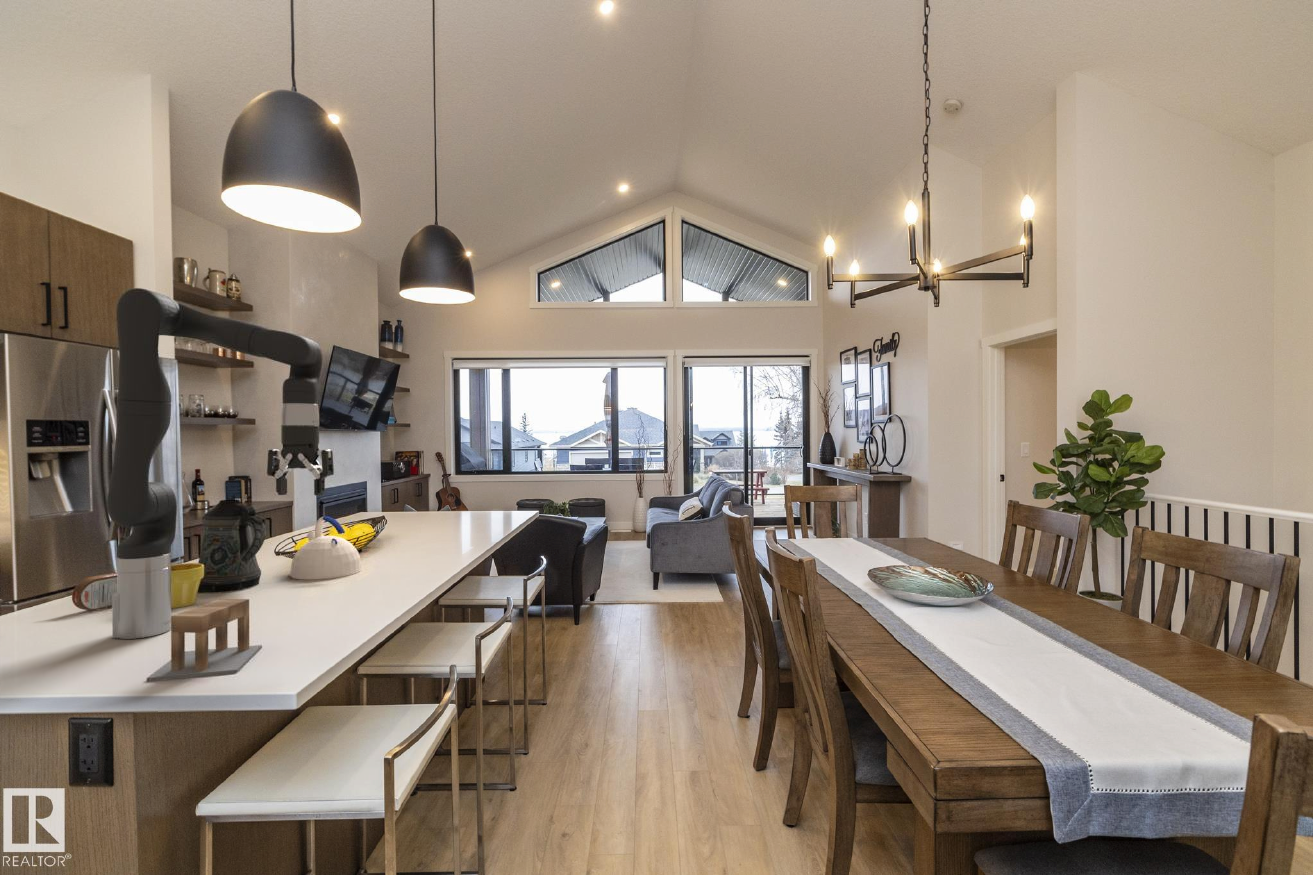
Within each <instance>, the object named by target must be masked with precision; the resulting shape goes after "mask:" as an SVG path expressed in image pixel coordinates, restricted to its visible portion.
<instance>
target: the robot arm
mask: <svg viewBox="0 0 1313 875" xmlns="http://www.w3.org/2000/svg"><path fill="white" fill-rule="evenodd" d="M115 313H116V326H117V328H116V329H117V339H118V351H119V352H118V354H119V355H118V360H119V361H118V382H117V383H118V384H117V385H118V387H117V388H118V389H117V397H116V399H117V400H116V415H115V416H116V420H115V421H116V430H115V442H114V453H113V454H114V455H113V463H112V469H111V475H110V479H109V480H110V481H109V485H108V492H107V497H106V499H107V500H106V508H107V510H106V511H107V513H108V515H109V518H110V520H111V521H112V522H113V523H114V524H116V525H118V526H119V527H123V528H131V527H133V528H132V530H131V533H130V534H129V536H127V538H126V539H124V540H123V541H121V542H120V543H119V544H118V545H117V547H116V571H117V572H116V573H117V592H116V593H114V594H113V595H112V607H111V611H112V615H111V616H112V617H111V618H112V620H111V622H112V623H111V624H112V629H111V630H112V631H111V632H112V637H111V638H112V639H121V640H122V639H123V640H125V639H126V640H130V639H133V640H134V639H141V638H148V637H153V636H157V635H160V634H161V635H162V634H164V633H166V632H168V631H171V616H172V608H171V565H172V559H171V558H172V545H173V543H174V540H175V539H176V533H177V532H176V531H177V515H178V511H177V510H178V509H177V508H178V502H177V497H176V493H175V492H174V490H173V488H171V486H169V485H168V484H167V483H164V482H160V481H150V480H149V479H150V469H151V468H150V467H151V463H152V459H153V457H154V455H155V453H156V451H157V449H158V448H159V446H160V444H161V443H162V441H163V440H164V438H165V436H166V434H167V432H168V430H169V428H170V425H171V419H172V392H171V387H170V385H169V381H168V379H167V377H166V374H165V372H164V370H163V367H162V365H161V360H160V356H159V341H160V340H159V339H160V336H169V337H177V338H188V339H194V340H198V341H203V342H206V343H210V344H213V345H216V346H218V347H222V348H224V349H226V350H227V349H228V350H231V351H233V352H238V353H240V354H245V355H249V356H254V357H258V358H264V359H265V358H266V359H268V360H271V361H275V362H279V363H282V364H285V365H288V366H290V367H289V375H288V378H286V379H284V381H283V383H282V407H281V413H280V415H281V416H280V418H281V419H280V422H281V423H280V424H281V425H280V427H281V428H280V430H281V431H280V433H281V434H280V436H281V439H280V442H281V446H282V449H281V450H280V449H269V450H268V451H267V467H266V475H267V476H269V477H270V476H271V477H274V478H275V487H276V488H275V491H276V493H277V495H278V496H286V495H287V494H288V478H287V477H288V475H289V474H290V473H291V471H293V470H294V469H300V470H301V469H302V470H304V469H307V470H308V472H311V474H312V475H313V476H314V478H315V479H313V482H314V483H313V490H314V492H313V494H314V496H322V495H323V494H324V493H325V491H326V486H325V485H326V484H325V483H326V482H325V481H326V478H327V477H330V476H333V475H334V473H335V469H334V457H333V456H334V455H333V454H334V453H333V450H332V449H322V450H320V448H319V444H320V410H319V405H318V404H319V403H318V402H319V395H318V394H319V390H318V386H319V382H320V377H321V372H322V368H323V352H322V349H321V347H320V345H319V344H318V343H317V342H316V341H314V340H312V339H310V338H307V337H305V336H302V335H299V334H295V333H292V332H286V331H281V330H277V329H272V328H270V327H266V326H263V325H261V324H260V325H259V324H255V323H253V322H248V321H245V320H239V319H235V318H229V317H223V316H218V315H213V314H209V313H205V312H203V311H199V310H198V309H196V308H192V307H189V306H187V305H185V304H183V303H180V302H178V301H177V300H174V299H172V298H170V297H169V296H167V295H165V294H162V293H159V292H155V291H152V290H149V289H147V288H141V287H136V288H130V289H128V290H127V291H125V292H124V293H123V294H122V295H121V296H120V297H119V299H118V302H117V305H116V312H115ZM318 458H319V459H321V464H320V462H319V461H318ZM281 459H283V461H282V462H280V461H281ZM280 463H281V464H280Z"/></svg>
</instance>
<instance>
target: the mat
mask: <svg viewBox="0 0 1313 875" xmlns="http://www.w3.org/2000/svg"><path fill="white" fill-rule="evenodd" d="M262 648H263V645H262V644H256V645H249V649H248V650H245V651H238V646H234V647H228V648H227V649H225V650H222V651H219V650H216V648H211V649H209V648H208V669H206V670H204V671H195V650H189V651H188V650H187V651H185V668H183V669H181V670H179V671H176V670H171V659H170V660H169V661H167V662H166V663H165V664H163V665H162V666H161V667H160V668H158V669H156V671H154V672H153V673H152V674H150V675H149V676H147V677H146V682H153V681H154V682H155V681H165V680H176V679H185V678H187V679H188V678H196V677H206V676H218V675H227V674H229V675H230V674H238V673H239V672H240V671H241V670H242V669H243V668H244V667H245V665H247V664H246V663H249V662H250V661H249V660H252V658H254V657H255V656H256V654H258V653H259V652H260V650H261V649H262Z"/></svg>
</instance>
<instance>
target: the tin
mask: <svg viewBox="0 0 1313 875" xmlns="http://www.w3.org/2000/svg"><path fill="white" fill-rule="evenodd" d="M116 592H117V572H111V573H106V574H100V575H94V576H90V577H87V578H84V579H83V580H81V581H80V582H79V583H78V584H77V585H76V586H75V587H74V589H73V591H72V594H71V601H72V603H73V605H74V606H75V607H76V608H78V609H80V610H85V611H89V612H90V611H92V612H93V611H100V610H103V609H108V608H110V609H111V608H112V595H113V594H114V593H116Z"/></svg>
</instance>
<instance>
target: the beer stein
mask: <svg viewBox="0 0 1313 875" xmlns="http://www.w3.org/2000/svg"><path fill="white" fill-rule="evenodd" d="M256 514H257V512H256V510H255V508H254V507H253V506H250V505H244V504H243V503H241V500H239V499H221V500H220V501H219V502H218V503H217V504H216V505H215V506H213V508H211V509H209V511H207V512H206V513H204V515H203V516H202V517H201V523H202V524H203V526H204V527H203V528H204V531H203V536H202V542H201V547H200V554H199V558H198V562H197V563H199V564H203V565H204V577H203V578H202V579H201V581H200V584H199V588H198V592H197V593H200V594H218V593H219V592H220V593H228V592H229V593H230V592H236V590H237V591H240V590H246V589H251V588H253V587H256V586H258V585H259V584H260V579H261V575H262V570H261V568H260V566H259V564H258V560H257V556H256V554H257V553H258V552H259V551H260V550H261V549H262V546H264V545H263V544H264V542H265V539H266V537H267V528H266V524H265V523H264V521H263V520H262V518H261V517H260V516H258V515H256ZM252 530H253V533H252Z"/></svg>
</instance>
